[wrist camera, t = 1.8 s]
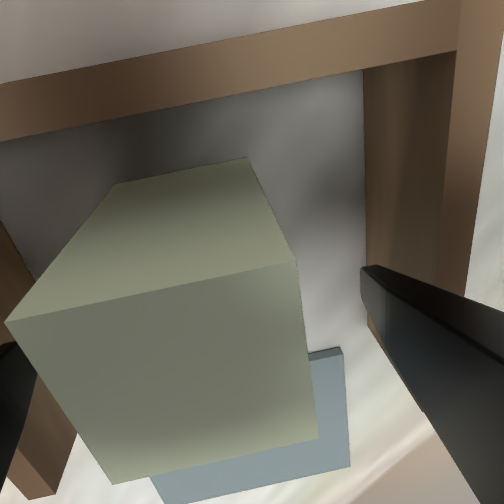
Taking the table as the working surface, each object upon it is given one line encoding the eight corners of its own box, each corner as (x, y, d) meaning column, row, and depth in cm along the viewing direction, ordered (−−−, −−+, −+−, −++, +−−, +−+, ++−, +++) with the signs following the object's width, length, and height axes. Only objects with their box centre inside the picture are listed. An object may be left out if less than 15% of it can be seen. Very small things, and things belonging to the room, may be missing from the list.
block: (247, 157, 13) (296, 260, 6) (267, 269, 15) (318, 438, 8) (114, 184, 13) (4, 322, 6) (156, 293, 15) (112, 484, 8)
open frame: (392, 17, 11) (510, -17, 7) (386, 322, 17) (448, 406, 13) (-96, 114, 11) (-298, 142, 7) (74, 390, 17) (28, 500, 13)
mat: (339, 347, 18) (343, 354, 17) (347, 458, 23) (350, 466, 22) (111, 396, 18) (109, 405, 17) (167, 499, 22) (166, 508, 22)
